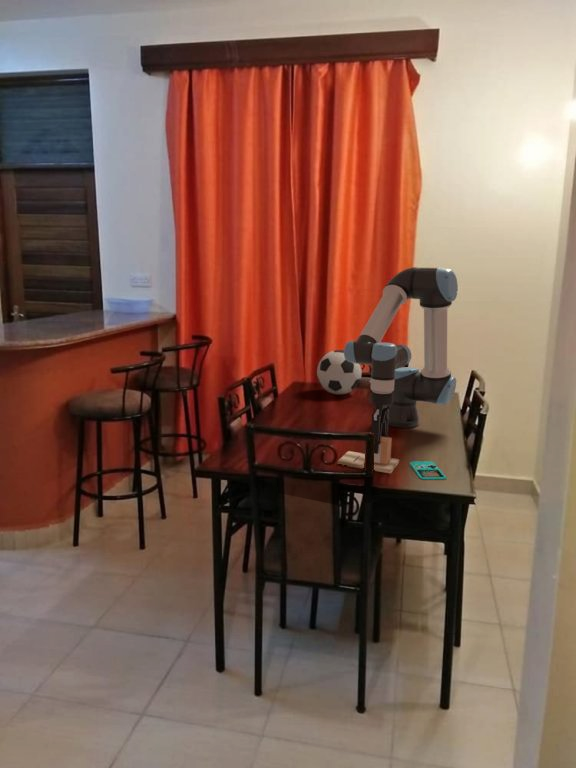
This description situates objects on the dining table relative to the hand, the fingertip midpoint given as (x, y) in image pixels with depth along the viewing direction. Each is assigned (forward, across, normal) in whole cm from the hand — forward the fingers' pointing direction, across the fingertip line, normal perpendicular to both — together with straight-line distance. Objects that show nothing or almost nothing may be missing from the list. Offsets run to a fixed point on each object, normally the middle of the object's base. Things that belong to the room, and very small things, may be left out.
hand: (378, 459), depth 191 cm
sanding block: (+1, 0, 0) cm, 1 cm away
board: (+2, 0, -3) cm, 4 cm away
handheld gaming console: (+3, -2, +16) cm, 16 cm away
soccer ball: (+2, -88, -45) cm, 98 cm away
